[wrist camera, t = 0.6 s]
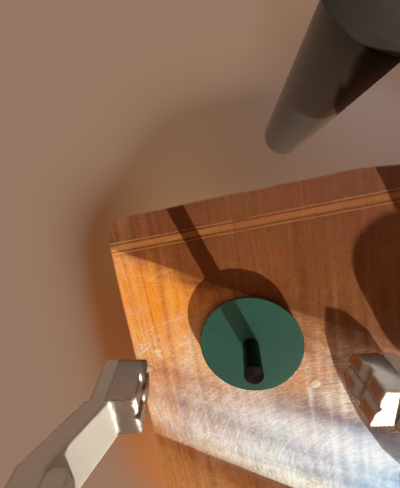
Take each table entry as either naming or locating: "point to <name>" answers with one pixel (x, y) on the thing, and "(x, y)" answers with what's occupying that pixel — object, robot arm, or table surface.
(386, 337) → the table surface
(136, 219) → the table surface
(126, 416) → the robot arm
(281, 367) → the lid
